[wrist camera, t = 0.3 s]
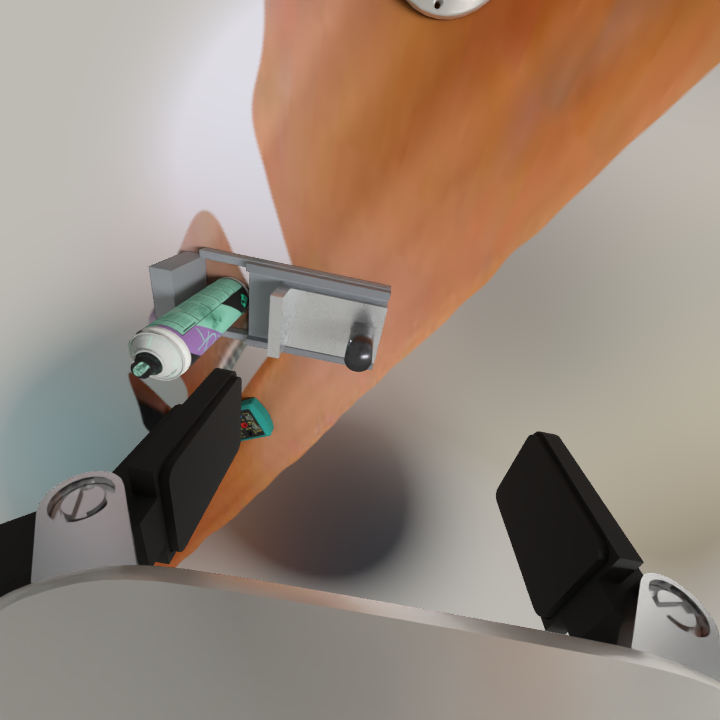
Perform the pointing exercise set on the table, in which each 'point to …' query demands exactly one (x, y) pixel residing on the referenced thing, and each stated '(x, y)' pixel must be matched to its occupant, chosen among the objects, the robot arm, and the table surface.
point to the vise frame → (251, 290)
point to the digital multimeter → (254, 420)
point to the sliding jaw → (325, 324)
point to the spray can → (187, 330)
